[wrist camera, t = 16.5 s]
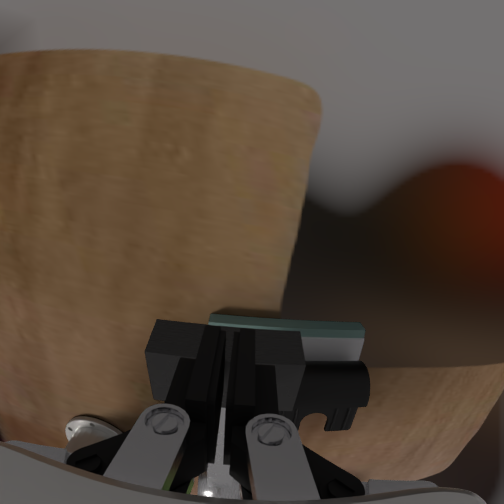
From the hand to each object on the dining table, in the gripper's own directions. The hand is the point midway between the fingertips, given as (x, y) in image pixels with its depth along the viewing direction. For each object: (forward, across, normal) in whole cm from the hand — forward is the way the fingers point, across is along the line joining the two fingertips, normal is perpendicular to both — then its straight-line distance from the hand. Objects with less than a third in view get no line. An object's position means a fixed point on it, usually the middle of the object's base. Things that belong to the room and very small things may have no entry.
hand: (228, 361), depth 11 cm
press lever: (+4, 0, +8) cm, 9 cm away
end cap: (+20, -8, +15) cm, 26 cm away
